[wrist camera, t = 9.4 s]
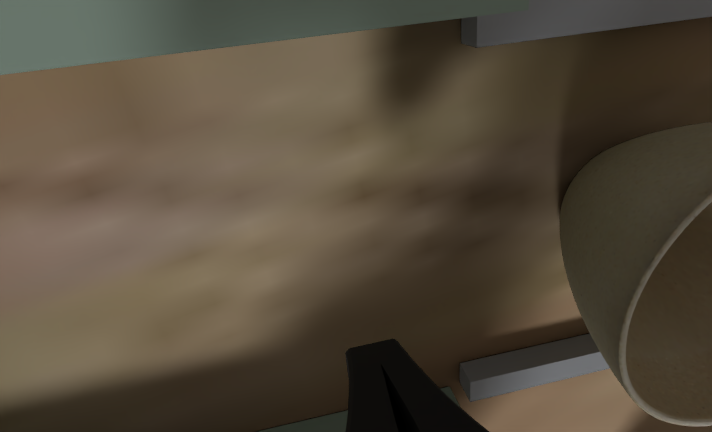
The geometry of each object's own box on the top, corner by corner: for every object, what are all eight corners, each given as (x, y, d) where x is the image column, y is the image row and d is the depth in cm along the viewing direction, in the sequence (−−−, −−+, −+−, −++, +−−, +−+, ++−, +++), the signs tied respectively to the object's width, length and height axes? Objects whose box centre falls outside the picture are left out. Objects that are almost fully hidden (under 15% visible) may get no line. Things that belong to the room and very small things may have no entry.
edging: (713, 322, 25) (734, 338, 24) (459, 382, 23) (470, 401, 22) (823, -40, 17) (860, -41, 16) (461, 3, 15) (477, 4, 14)
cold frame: (449, 410, 23) (497, 509, 19) (-62, 534, 20) (-147, 688, 16) (445, -56, 15) (533, -73, 10) (-469, 34, 11) (-919, 68, 7)
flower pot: (749, 58, 18) (1011, 98, 12) (694, 276, 23) (864, 387, 17) (505, 98, 17) (657, 166, 11) (497, 320, 22) (601, 460, 15)
